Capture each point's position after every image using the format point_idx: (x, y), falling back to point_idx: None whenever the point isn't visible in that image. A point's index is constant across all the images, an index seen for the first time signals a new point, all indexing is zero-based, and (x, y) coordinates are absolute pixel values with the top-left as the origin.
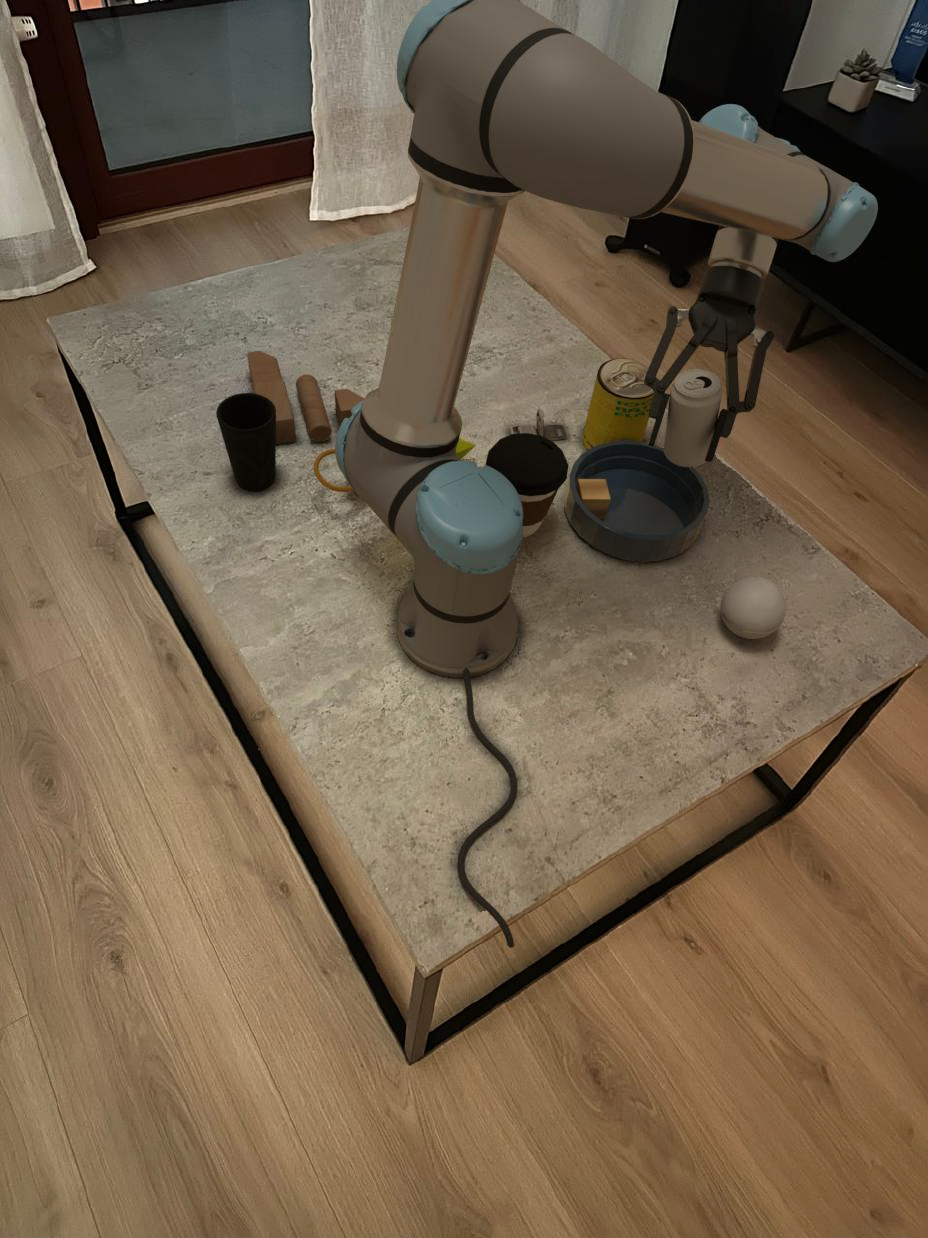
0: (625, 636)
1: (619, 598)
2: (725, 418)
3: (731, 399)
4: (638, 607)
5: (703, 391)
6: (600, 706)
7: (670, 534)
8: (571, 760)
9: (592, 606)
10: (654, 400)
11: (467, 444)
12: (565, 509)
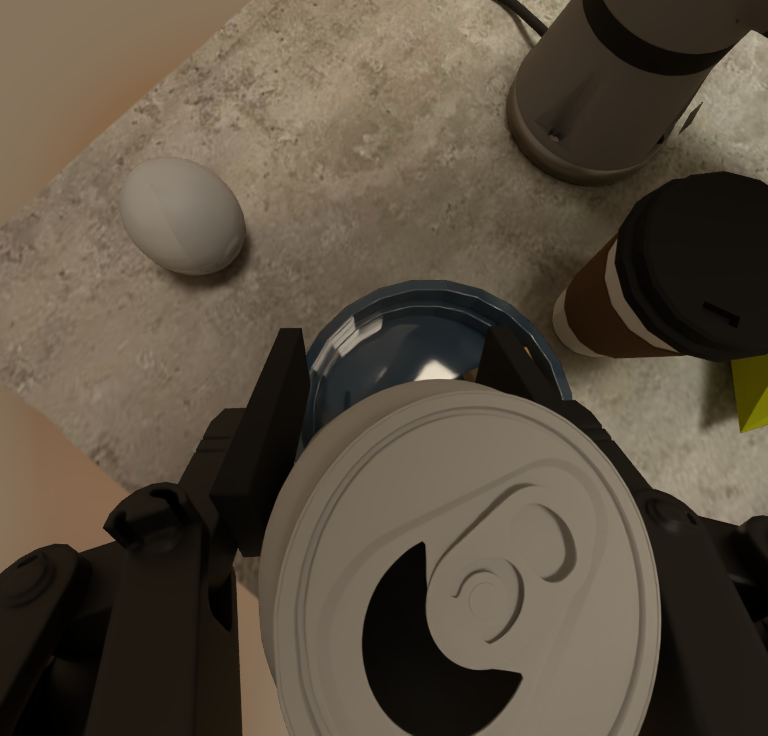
0: (374, 176)
1: (398, 235)
2: (231, 450)
3: (182, 576)
4: (368, 229)
5: (415, 486)
6: (380, 71)
7: (351, 313)
8: (394, 2)
9: (430, 209)
10: (615, 454)
11: (764, 412)
12: None
